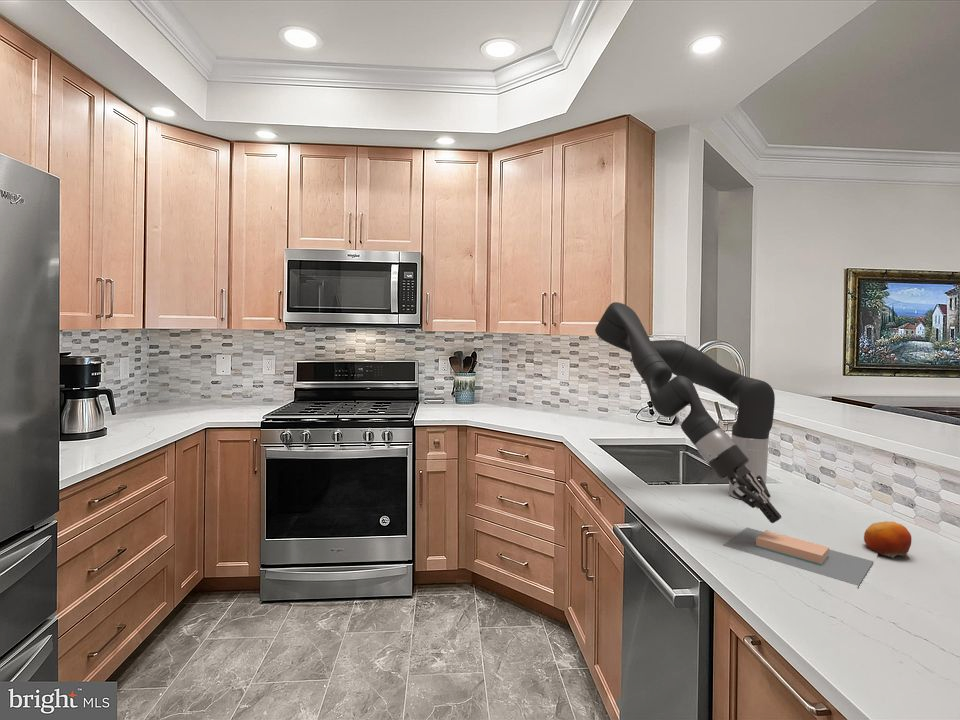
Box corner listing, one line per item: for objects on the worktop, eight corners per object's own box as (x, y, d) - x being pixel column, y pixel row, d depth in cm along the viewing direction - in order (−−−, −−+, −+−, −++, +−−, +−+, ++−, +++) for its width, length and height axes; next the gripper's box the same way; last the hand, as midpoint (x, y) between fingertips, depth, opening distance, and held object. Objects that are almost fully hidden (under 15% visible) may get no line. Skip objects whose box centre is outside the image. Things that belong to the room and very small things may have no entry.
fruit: (901, 560, 106) (883, 519, 110) (867, 565, 113) (851, 526, 117) (931, 556, 108) (912, 516, 112) (895, 561, 115) (879, 523, 119)
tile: (765, 530, 117) (829, 547, 109) (765, 539, 117) (828, 556, 109) (756, 537, 113) (822, 555, 105) (755, 546, 113) (821, 565, 105)
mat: (747, 530, 124) (747, 527, 124) (873, 564, 107) (873, 561, 107) (722, 547, 114) (722, 545, 114) (858, 588, 97) (858, 585, 97)
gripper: (719, 457, 127) (772, 521, 119) (696, 467, 118) (752, 537, 110) (744, 439, 123) (800, 504, 115) (722, 447, 114) (782, 519, 106)
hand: (777, 520), depth 113 cm, fingers closed
